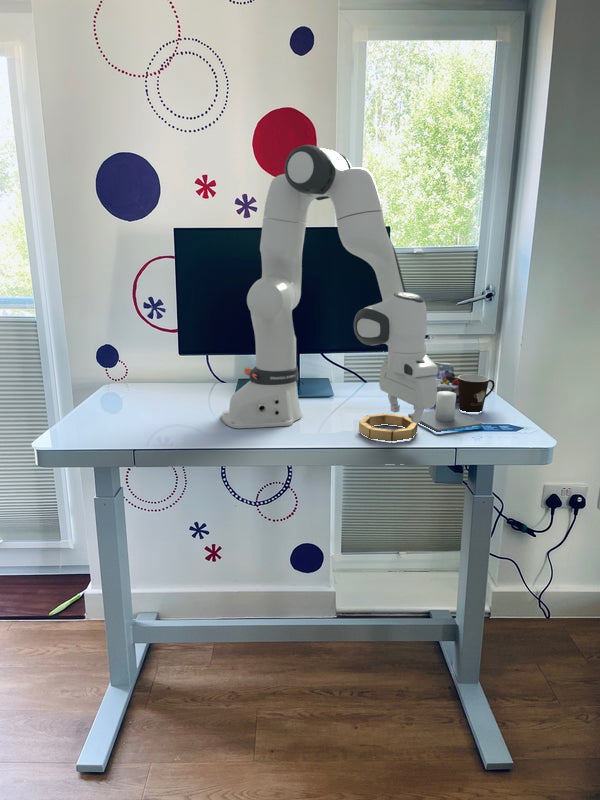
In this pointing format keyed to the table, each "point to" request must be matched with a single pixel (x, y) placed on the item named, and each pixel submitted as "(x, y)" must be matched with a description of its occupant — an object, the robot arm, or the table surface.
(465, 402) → the coffee mug
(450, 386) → the cell model
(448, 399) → the piston stand
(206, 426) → the table surface
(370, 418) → the wooden ring
